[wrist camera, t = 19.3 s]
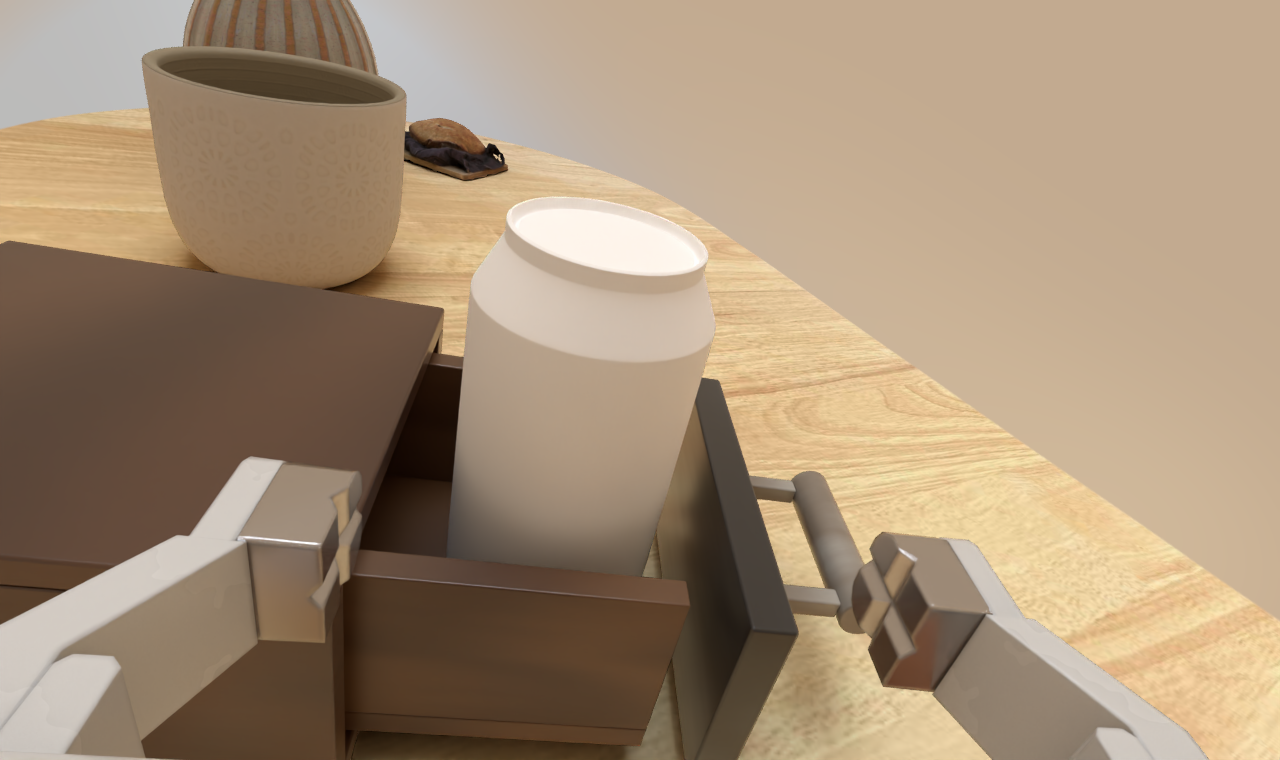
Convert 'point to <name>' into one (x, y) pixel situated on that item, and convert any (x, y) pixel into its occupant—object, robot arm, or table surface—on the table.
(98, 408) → the cabinet
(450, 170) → the bread roll
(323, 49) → the vase
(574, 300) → the beverage can
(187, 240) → the planter
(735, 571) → the drawer
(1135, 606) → the table surface
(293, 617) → the robot arm
